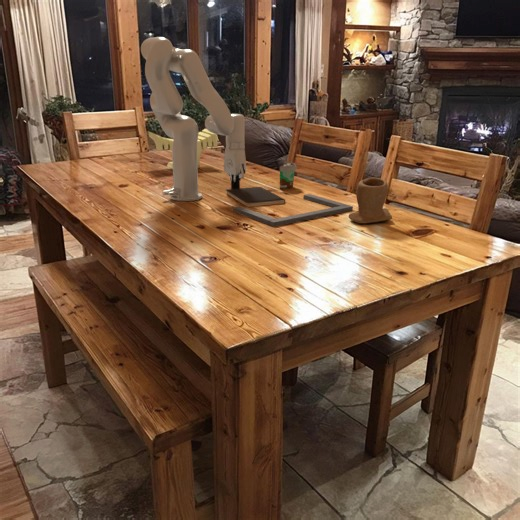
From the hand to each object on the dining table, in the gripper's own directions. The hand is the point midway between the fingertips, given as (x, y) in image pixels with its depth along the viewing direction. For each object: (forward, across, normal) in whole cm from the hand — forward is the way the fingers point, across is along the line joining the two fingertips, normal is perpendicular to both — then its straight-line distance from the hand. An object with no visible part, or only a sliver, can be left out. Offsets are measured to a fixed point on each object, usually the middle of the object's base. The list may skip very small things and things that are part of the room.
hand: (235, 190), depth 232 cm
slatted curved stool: (+1, -59, +10) cm, 60 cm away
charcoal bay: (+1, +37, 0) cm, 37 cm away
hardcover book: (+2, +14, 0) cm, 14 cm away
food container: (+1, +6, +24) cm, 25 cm away
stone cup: (+1, +64, +13) cm, 65 cm away
